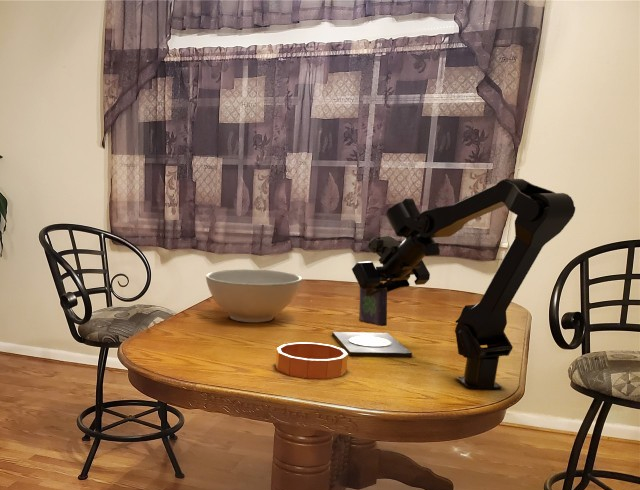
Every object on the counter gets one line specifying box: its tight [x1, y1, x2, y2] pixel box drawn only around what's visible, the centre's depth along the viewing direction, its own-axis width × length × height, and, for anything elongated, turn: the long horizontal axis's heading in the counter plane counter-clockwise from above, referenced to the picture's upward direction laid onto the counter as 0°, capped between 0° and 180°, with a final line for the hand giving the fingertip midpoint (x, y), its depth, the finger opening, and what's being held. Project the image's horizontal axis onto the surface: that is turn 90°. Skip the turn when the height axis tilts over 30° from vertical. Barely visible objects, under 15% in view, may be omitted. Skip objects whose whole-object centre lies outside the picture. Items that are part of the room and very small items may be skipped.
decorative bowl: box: [205, 268, 303, 323], centre depth 197 cm, size 27×27×12 cm
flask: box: [358, 286, 388, 327], centre depth 165 cm, size 9×3×11 cm, turn 17°
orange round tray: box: [274, 342, 349, 380], centre depth 149 cm, size 15×15×4 cm
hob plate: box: [331, 331, 413, 358], centre depth 168 cm, size 20×14×1 cm
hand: (371, 294), depth 166 cm, fingers closed on flask, 3 cm apart
